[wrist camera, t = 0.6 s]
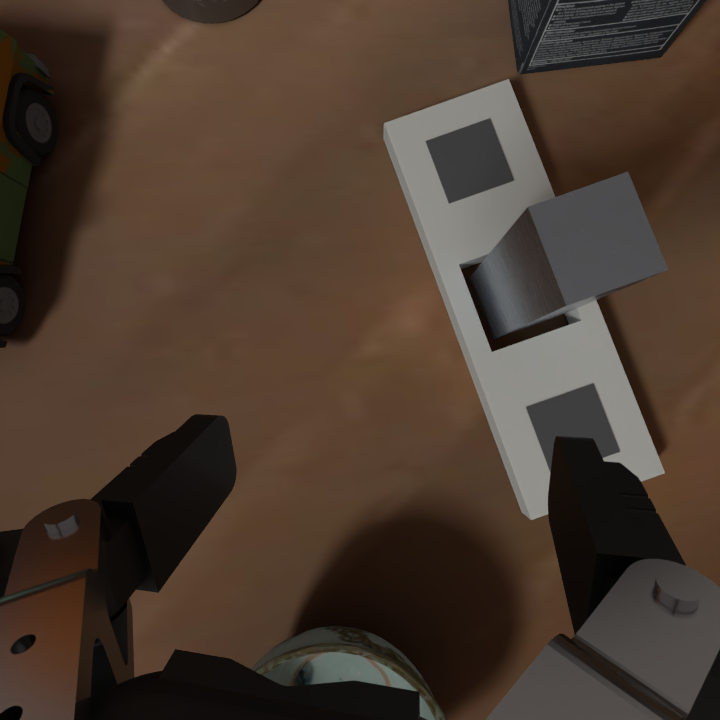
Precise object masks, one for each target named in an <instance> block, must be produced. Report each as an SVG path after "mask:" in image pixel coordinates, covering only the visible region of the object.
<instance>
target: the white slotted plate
mask: <svg viewBox="0 0 720 720" xmlns="http://www.w3.org/2000/svg"><path fill="white" fill-rule="evenodd" d="M384 142H385V144H386V147H387V150H388V152H389V155H390V158H391V161H392V163H393V166H394V169H395V171H396V174H397V177H398V179H399V182H400V185H401V188H402V190H403V193H404V196H405V198H406V201H407V204H408V206H409V209H410V212H411V215H412V217H413V220H414V223H415V225H416V228H417V231H418V233H419V236H420V239H421V242H422V244H423V247H424V250H425V252H426V255H427V258H428V261H429V263H430V266H431V269H432V271H433V274H434V277H435V279H436V282H437V285H438V288H439V290H440V293H441V296H442V298H443V301H444V304H445V306H446V309H447V312H448V315H449V317H450V320H451V323H452V325H453V328H454V331H455V333H456V336H457V339H458V342H459V344H460V347H461V350H462V352H463V355H464V358H465V360H466V363H467V366H468V369H469V371H470V374H471V377H472V379H473V382H474V385H475V388H476V390H477V393H478V396H479V398H480V401H481V404H482V406H483V409H484V412H485V415H486V417H487V420H488V423H489V425H490V428H491V431H492V433H493V436H494V439H495V442H496V444H497V447H498V450H499V452H500V455H501V458H502V460H503V463H504V466H505V469H506V471H507V474H508V477H509V479H510V482H511V485H512V488H513V490H514V493H515V496H516V498H517V501H518V504H519V506H520V509H521V512H522V513H523V514H525V515H526V516H527V517H528V518H529V519H531V520H533V519H536V518H538V517H541V516H544V515H547V514H548V491H549V482H550V473H551V464H552V455H553V447H554V441H555V438H556V436H567V437H585V438H593V439H594V441H595V443H596V445H597V447H598V449H599V451H600V454H601V456H602V458H603V460H604V461H606V462H620V463H621V464H622V465H624V466H625V467H626V468H627V469H629V470H630V471H631V472H632V473H633V474H635V475H636V476H637V477H638V478H639V479H640V481H644V480H647V479H650V478H653V477H655V476H658V475H661V474H664V473H665V472H664V470H663V467H662V464H661V462H660V459H659V457H658V454H657V452H656V449H655V447H654V444H653V442H652V439H651V437H650V434H649V432H648V429H647V427H646V424H645V422H644V419H643V417H642V414H641V411H640V409H639V406H638V404H637V401H636V399H635V396H634V394H633V391H632V389H631V386H630V384H629V381H628V379H627V376H626V374H625V371H624V369H623V366H622V364H621V361H620V358H619V356H618V353H617V351H616V348H615V346H614V343H613V341H612V338H611V336H610V333H609V331H608V328H607V326H606V323H605V321H604V318H603V316H602V313H601V311H600V308H599V305H598V303H597V300H595V301H593V302H591V303H588V304H586V305H584V306H581V307H579V308H576V309H574V310H572V311H569V312H567V313H564V314H565V316H566V319H567V321H568V324H569V325H567V326H564V327H561V328H559V329H556V330H553V331H550V332H547V333H544V334H542V335H539V336H536V337H533V338H530V339H527V340H524V341H522V342H519V343H516V344H513V345H510V346H507V347H505V348H502V349H499V350H496V351H493V352H492V351H491V349H490V346H489V343H488V341H487V338H486V335H485V333H484V330H483V327H482V325H481V322H480V319H479V317H478V314H477V311H476V309H475V306H474V303H473V301H472V298H471V295H470V293H469V290H468V287H467V285H466V282H465V279H464V277H463V274H462V271H461V269H464V268H467V267H469V266H472V265H475V264H478V263H481V262H483V261H484V259H485V258H486V257H487V256H488V255H489V253H490V252H491V251H492V250H493V248H494V247H495V246H496V245H497V244H498V242H499V241H500V240H501V239H502V238H503V236H504V235H505V234H506V233H507V231H508V230H509V229H510V228H511V227H512V225H513V224H514V223H515V222H516V221H517V219H518V218H519V217H520V216H521V214H522V213H523V212H524V211H525V210H526V208H527V207H529V206H532V205H535V204H537V203H540V202H543V201H546V200H549V199H552V198H554V197H555V194H554V192H553V189H552V187H551V184H550V182H549V179H548V177H547V174H546V172H545V169H544V167H543V164H542V162H541V159H540V157H539V154H538V152H537V149H536V146H535V144H534V141H533V139H532V136H531V134H530V131H529V129H528V126H527V124H526V121H525V119H524V116H523V114H522V111H521V109H520V106H519V104H518V101H517V99H516V96H515V94H514V91H513V88H512V86H511V83H510V81H509V79H507V80H505V81H502V82H499V83H496V84H493V85H490V86H488V87H485V88H482V89H479V90H476V91H474V92H471V93H468V94H465V95H462V96H459V97H457V98H454V99H451V100H448V101H445V102H443V103H440V104H437V105H434V106H431V107H428V108H426V109H423V110H420V111H417V112H414V113H412V114H409V115H406V116H403V117H400V118H398V119H395V120H392V121H389V122H386V123H384Z"/></svg>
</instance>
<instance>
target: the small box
mask: <svg viewBox="0 0 720 720" xmlns="http://www.w3.org/2000/svg"><path fill="white" fill-rule="evenodd" d="M705 1H706V0H508V2H509V11H510V19H511V27H512V35H513V42H514V49H515V57H516V65H517V71H518V73H519V74H525V73H534V72H543V71H551V70H559V69H568V68H576V67H585V66H592V65H602V64H610V63H618V62H626V61H635V60H643V59H650V58H660V57H661V56H662V55H663V54H664V53H665V52H666V51H667V49H668V47H669V46H670V45H671V43H672V42H673V41H674V40H675V38H676V37H677V36H678V34H679V33H680V32H681V31H682V29H683V28H684V27H685V26H686V24H687V23H688V22H689V21H690V20H691V18H692V17H693V16H694V15H695V13H696V12H697V11H698V10H699V8H700V7H701V6H702V5H703V3H704V2H705Z"/></svg>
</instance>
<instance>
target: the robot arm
mask: <svg viewBox="0 0 720 720" xmlns="http://www.w3.org/2000/svg"><path fill="white" fill-rule="evenodd" d="M258 1H259V0H163V2H164V3H165V4H166V5H167V6H168V7H169V8H170V9H171V10H172V11H174V12H175V13H177V14H178V15H180V16H181V17H184V18H186V19H189V20H191V21H194V22H201V23H220V22H224V21H228V20H232V19H234V18H236V17H239V16H241V15H243V14H244V13H246V12H247V11H248V10H250V9H251V8H252V7H254V6H255V5H256V4H257V2H258ZM235 480H236V463H235V457H234V452H233V446H232V440H231V435H230V429H229V424H228V421H227V419H226V418H225V417H224V416H217V415H200V414H196V415H193V416H192V417H190V418H189V419H188V420H187V421H186V422H185V423H184V424H183V425H182V426H181V427H180V428H179V429H177V430H176V431H175V432H173V433H171V434H169V435H167V436H165V437H163V438H161V439H160V440H158V441H156V442H154V443H153V444H152V445H151V446H150V447H149V448H148V449H147V450H145V451H144V452H143V453H142V455H141V457H140V456H139V457H138V458H136V459H135V460H134V461H133V462H132V463H131V464H130V467H126V468H125V469H124V470H123V471H122V472H121V473H120V474H119V475H117V476H116V477H115V478H114V479H113V480H112V481H111V482H110V483H108V484H107V485H106V486H105V487H104V488H103V489H102V490H101V491H99V492H98V493H97V494H96V495H95V496H94V497H93V498H92V499H90V500H89V499H77V500H71V501H67V502H63V503H60V504H57V505H55V506H53V507H50V508H48V509H46V510H45V511H43V512H41V513H40V514H38V515H37V516H35V517H34V518H33V519H32V520H31V521H29V523H28V524H27V525H26V526H25V527H24V529H18V530H10V531H3V532H0V720H427V719H425V718H423V717H421V716H420V692H418V691H413V690H407V689H401V688H395V687H390V686H384V685H378V684H372V683H366V682H361V681H355V680H353V681H342V682H331V683H320V684H309V685H298V686H284V685H281V684H278V683H276V682H274V681H272V680H270V679H269V678H267V677H265V676H263V675H261V674H259V673H257V672H255V671H253V670H251V669H249V668H247V667H245V666H243V665H241V664H239V663H237V662H236V661H234V660H232V659H228V658H222V657H217V656H211V655H205V654H199V653H194V652H188V651H182V650H176V649H175V651H174V653H173V654H172V656H171V658H170V659H169V661H168V663H167V664H166V666H165V668H164V669H163V671H158V672H154V673H149V674H145V675H141V676H138V677H135V678H134V650H133V618H132V605H131V602H130V599H129V598H130V596H131V595H132V594H133V592H134V591H135V590H136V589H137V590H144V591H151V592H157V593H158V592H159V591H160V590H161V588H162V587H163V585H164V584H165V583H166V581H167V580H168V578H169V577H170V576H171V574H172V573H173V572H174V570H175V569H176V567H177V566H178V565H179V563H180V562H181V560H182V559H183V558H184V556H185V555H186V553H187V552H188V551H189V549H190V548H191V547H192V545H193V544H194V542H195V541H196V540H197V538H198V537H199V535H200V534H201V533H202V531H203V530H204V529H205V527H206V526H207V524H208V523H209V522H210V520H211V519H212V517H213V516H214V515H215V513H216V512H217V510H218V509H219V508H220V506H221V505H222V504H223V502H224V501H225V499H226V498H227V497H228V495H229V494H230V492H231V491H232V489H233V487H234V484H235ZM548 516H549V523H550V527H551V532H552V536H553V541H554V545H555V549H556V554H557V558H558V563H559V567H560V571H561V576H562V580H563V585H564V589H565V594H566V598H567V602H568V607H569V611H570V616H571V620H572V625H573V629H574V633H575V636H574V637H573V638H572V639H570V638H568V637H567V636H565V635H564V634H558V635H557V636H555V637H554V638H553V639H552V640H551V641H550V642H549V643H548V644H547V645H546V647H545V648H544V649H543V650H542V651H541V653H540V654H539V655H538V656H537V658H536V659H535V660H534V661H533V662H532V664H531V665H530V666H529V667H528V668H527V670H526V671H525V672H524V673H523V675H522V676H521V677H520V678H519V679H518V681H517V682H516V683H515V684H514V686H513V687H512V688H511V689H510V690H509V692H508V693H507V694H506V695H505V696H504V698H503V699H502V700H501V701H500V703H499V704H498V705H497V706H496V707H495V709H494V710H493V711H492V712H491V714H490V715H489V716H488V717H487V718H486V720H720V588H719V587H718V586H717V585H716V584H714V583H713V582H712V581H711V580H710V579H708V578H707V577H705V576H704V575H702V574H701V573H699V572H697V571H695V570H693V569H691V568H689V567H687V566H686V564H685V563H684V561H683V559H682V557H681V555H680V553H679V552H678V550H677V548H676V546H675V544H674V542H673V540H672V539H671V537H670V535H669V533H668V531H667V529H666V527H665V526H664V524H663V522H662V520H661V518H660V516H659V515H658V513H656V509H655V507H654V505H653V503H652V502H651V500H650V499H648V494H647V492H646V491H645V489H644V487H643V485H642V483H641V481H640V479H639V478H638V477H637V476H636V475H635V474H633V473H632V472H631V471H630V470H629V469H627V468H626V467H625V466H624V465H622V464H621V463H620V462H606V461H604V460H603V458H602V456H601V454H600V451H599V449H598V447H597V445H596V443H595V441H594V439H593V438H585V437H567V436H556V438H555V441H554V447H553V455H552V464H551V473H550V482H549V491H548Z"/></svg>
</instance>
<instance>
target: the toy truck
mask: <svg viewBox="0 0 720 720" xmlns="http://www.w3.org/2000/svg"><path fill="white" fill-rule="evenodd" d="M49 78H50V76H49V69H48V68H47V67H46V66H45V65H44V64H43V63H42V62H41V61H40V60H39V59H38V58H37V57H36V56H35V55H34V54H29V53H25V52H24V51H23V50H21V49H20V48H19V47H18V45H17V40H15V39H14V38H13V37H11V36H10V35H9V34H7V33H6V32H4V31H3V30H1V29H0V273H12V274H20V267H18V266H14V265H13V263H14V258H15V253H16V247H17V242H18V237H19V232H20V226H21V221H22V216H23V210H24V205H25V200H26V195H27V189H28V184H29V179H30V174H31V168H32V166H38V165H39V164H40V162H41V160H42V159H41V158H40V157H39V156H38V155H45V154H48V153H50V152H51V151H52V149H53V148H54V146H55V144H56V140H57V133H58V128H57V121H56V117H55V113H54V111H53V109H52V107H51V105H50V103H49V101H48V100H47V99H46V98H45V97H44V96H43V95H42V94H47V95H54V91H53V88H52V87H50V86H49V85H47V84H48V79H49ZM24 311H25V295H24V291H23V289H22V288H21V286H20V284H19V283H18V282H17V281H16V280H15V279H13V278H12V277H10V276H8V275H5V274H0V336H1V335H5V334H8V333H10V332H12V331H13V330H14V329H16V328H17V326H18V325H19V323H20V322H21V320H22V318H23V315H24ZM6 344H7V341H5V340H3V339H1V338H0V348H4V347H6Z"/></svg>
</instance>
